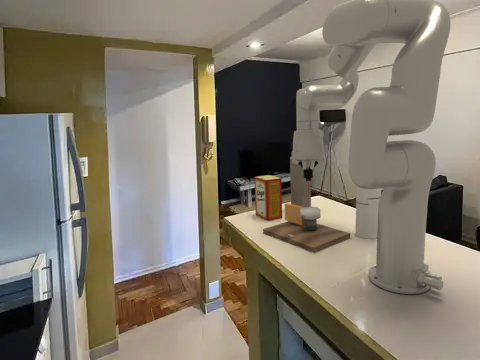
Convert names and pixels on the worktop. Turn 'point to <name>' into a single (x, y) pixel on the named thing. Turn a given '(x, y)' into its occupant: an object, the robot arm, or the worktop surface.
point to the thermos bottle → (299, 185)
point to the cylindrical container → (367, 212)
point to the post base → (307, 234)
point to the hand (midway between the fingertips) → (308, 180)
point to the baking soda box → (268, 197)
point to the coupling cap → (300, 213)
